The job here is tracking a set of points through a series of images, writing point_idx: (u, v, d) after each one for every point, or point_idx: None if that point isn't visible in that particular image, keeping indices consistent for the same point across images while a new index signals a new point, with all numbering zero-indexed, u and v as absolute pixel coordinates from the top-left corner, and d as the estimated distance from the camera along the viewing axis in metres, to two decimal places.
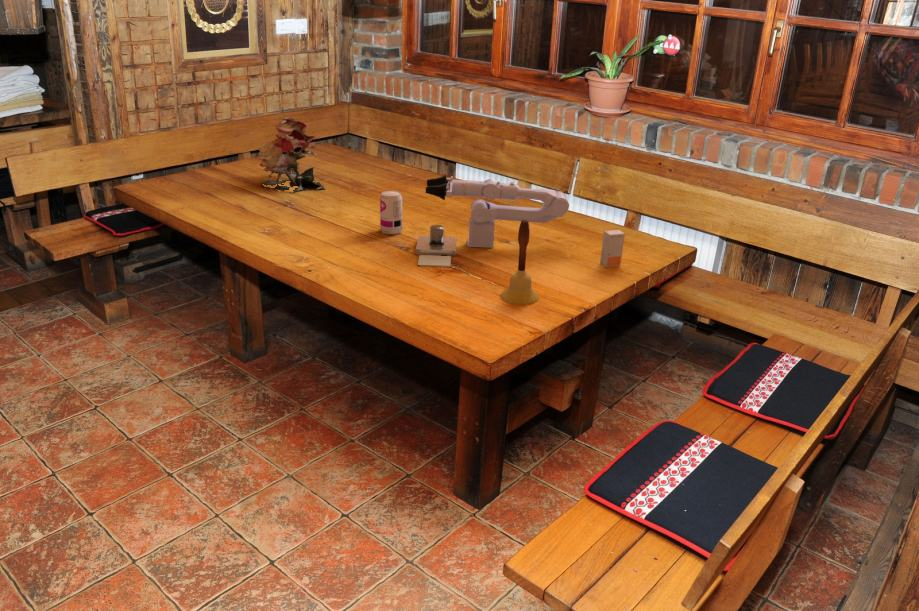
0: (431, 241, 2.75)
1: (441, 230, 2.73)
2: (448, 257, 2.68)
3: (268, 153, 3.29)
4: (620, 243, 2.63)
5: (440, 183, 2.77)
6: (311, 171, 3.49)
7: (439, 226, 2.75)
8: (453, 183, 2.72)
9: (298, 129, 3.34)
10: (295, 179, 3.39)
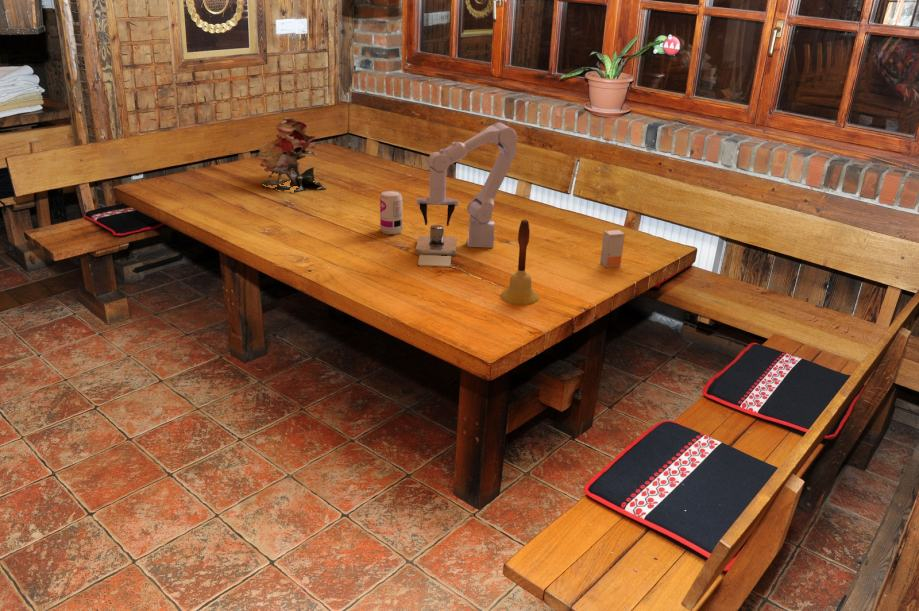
0: (431, 241, 2.75)
1: (441, 230, 2.73)
2: (448, 257, 2.68)
3: (268, 153, 3.29)
4: (620, 243, 2.63)
5: None
6: (311, 171, 3.48)
7: (439, 226, 2.75)
8: (442, 200, 2.68)
9: (298, 129, 3.34)
10: (295, 179, 3.39)
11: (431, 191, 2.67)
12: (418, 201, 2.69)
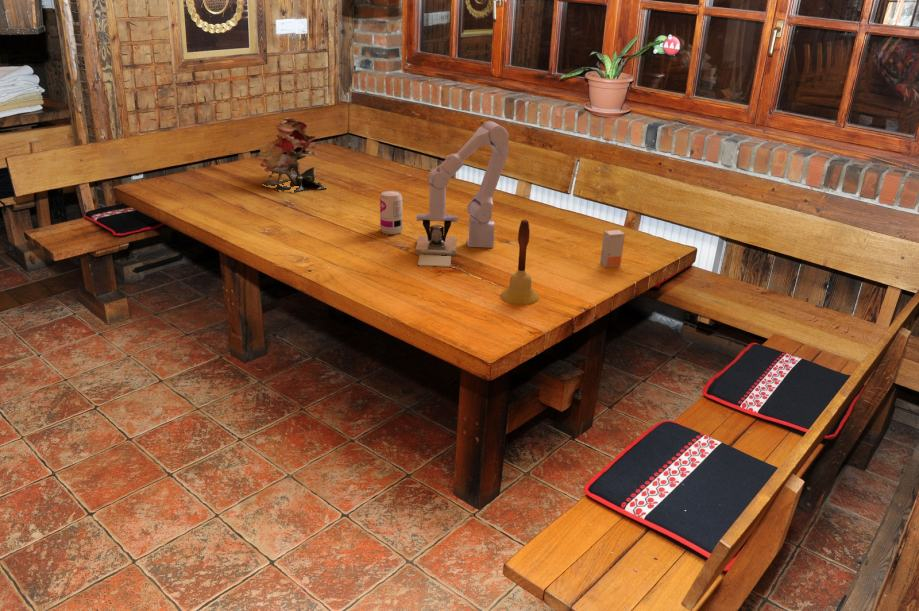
0: (431, 241, 2.75)
1: (441, 230, 2.73)
2: (448, 257, 2.68)
3: (269, 153, 3.29)
4: (620, 243, 2.63)
5: None
6: (312, 171, 3.48)
7: (439, 226, 2.75)
8: (441, 216, 2.70)
9: (299, 129, 3.34)
10: (296, 179, 3.39)
11: (431, 208, 2.69)
12: (418, 217, 2.72)
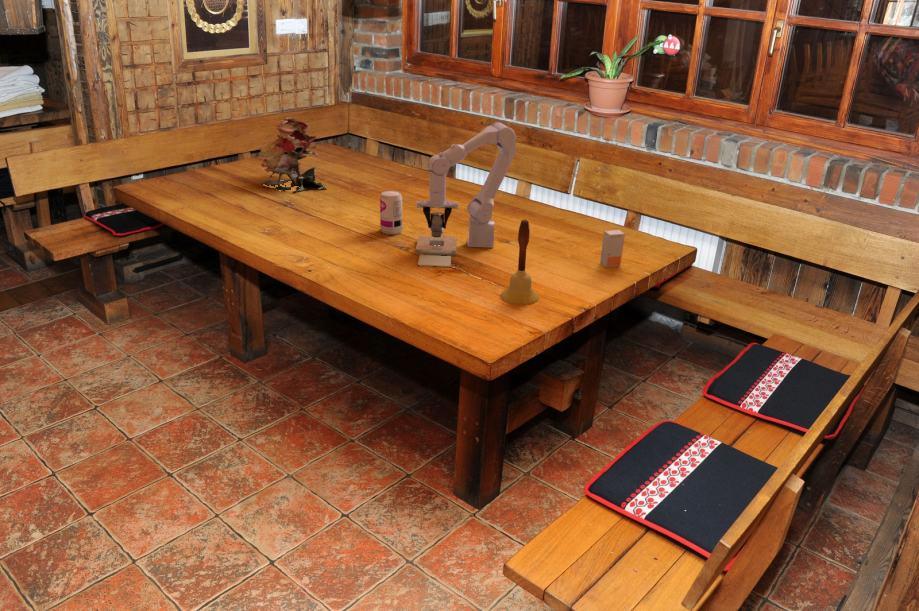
0: (431, 228, 2.73)
1: (441, 217, 2.71)
2: (448, 257, 2.68)
3: (269, 153, 3.29)
4: (620, 243, 2.63)
5: None
6: (312, 171, 3.48)
7: (439, 213, 2.73)
8: (442, 203, 2.68)
9: (299, 129, 3.34)
10: (296, 179, 3.39)
11: (431, 194, 2.67)
12: (418, 204, 2.70)
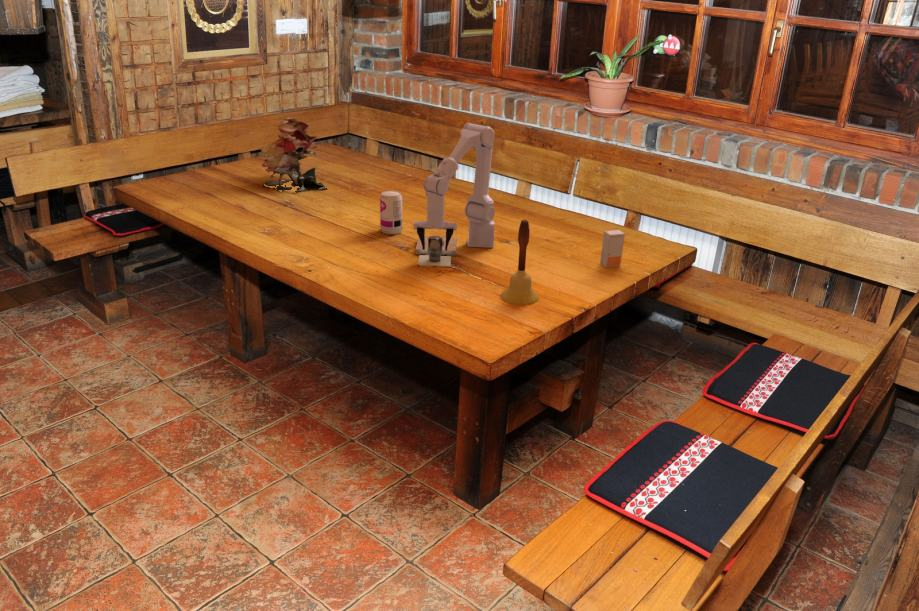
0: (429, 253, 2.63)
1: (440, 241, 2.61)
2: (448, 257, 2.68)
3: (270, 153, 3.29)
4: (620, 243, 2.63)
5: (424, 235, 2.62)
6: (313, 171, 3.48)
7: (437, 237, 2.63)
8: (440, 224, 2.58)
9: (300, 129, 3.34)
10: (297, 179, 3.39)
11: (429, 215, 2.57)
12: (415, 225, 2.59)
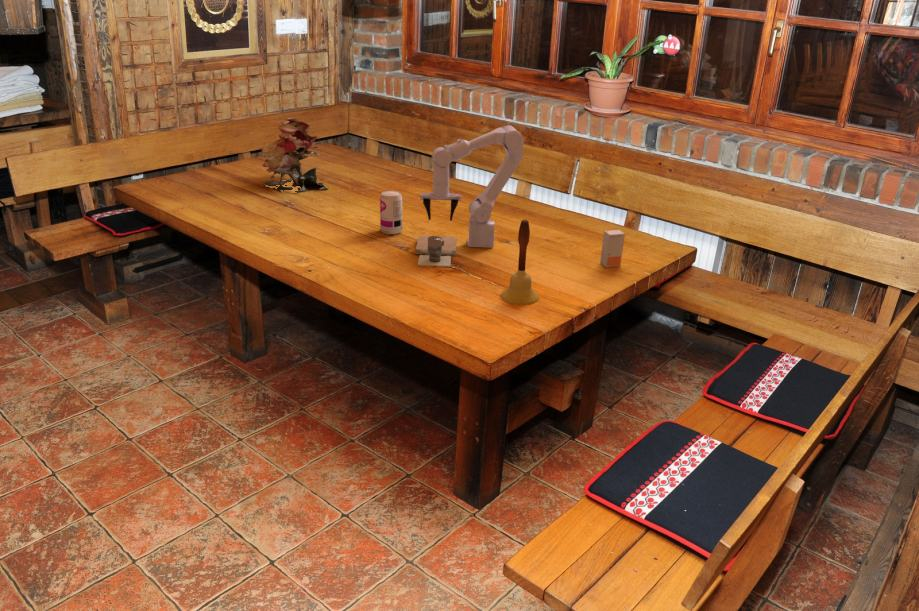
0: (429, 253, 2.63)
1: (439, 241, 2.61)
2: (448, 257, 2.68)
3: (271, 153, 3.29)
4: (620, 243, 2.63)
5: None
6: (314, 171, 3.48)
7: (437, 237, 2.63)
8: (445, 195, 2.70)
9: (301, 129, 3.34)
10: (298, 179, 3.39)
11: (434, 186, 2.69)
12: (422, 196, 2.72)
